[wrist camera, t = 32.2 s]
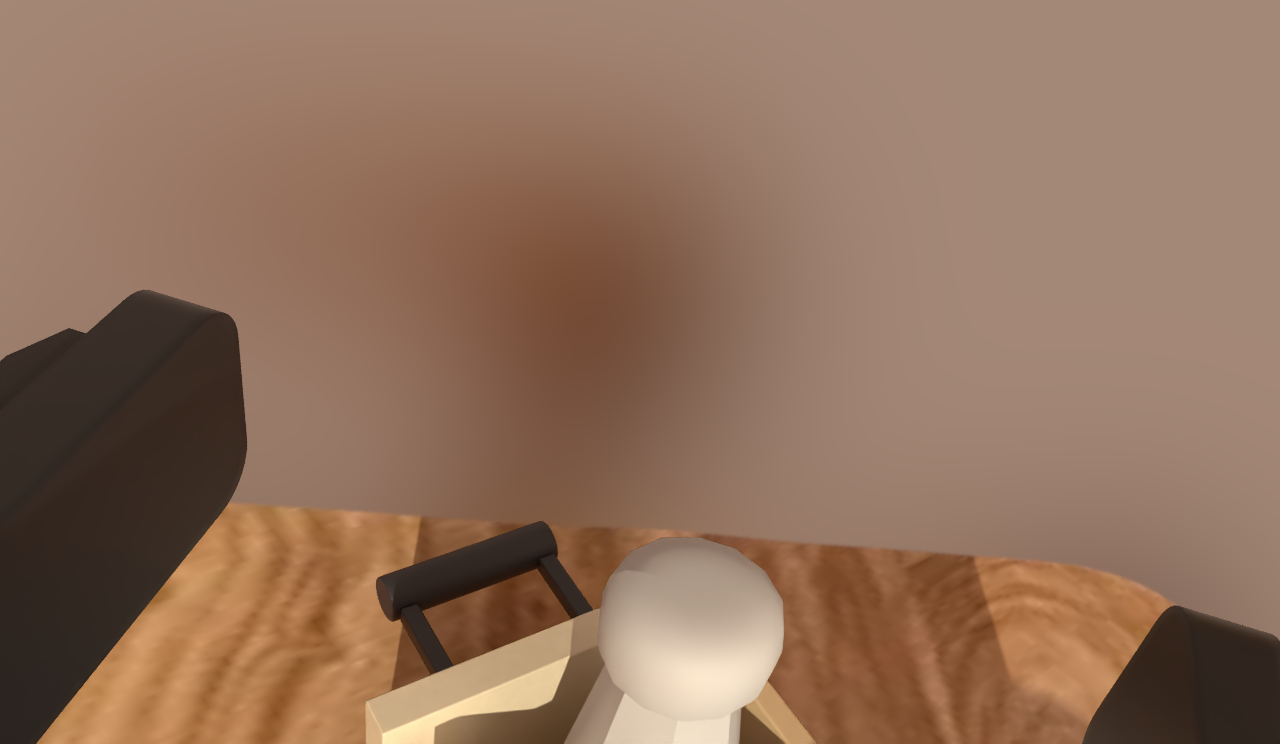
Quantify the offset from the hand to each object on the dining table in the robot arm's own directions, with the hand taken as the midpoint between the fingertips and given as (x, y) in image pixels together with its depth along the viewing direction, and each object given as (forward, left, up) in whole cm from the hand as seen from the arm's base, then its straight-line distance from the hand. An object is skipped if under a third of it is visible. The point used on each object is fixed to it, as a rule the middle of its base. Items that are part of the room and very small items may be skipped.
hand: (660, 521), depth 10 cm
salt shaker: (-7, +8, -26) cm, 28 cm away
